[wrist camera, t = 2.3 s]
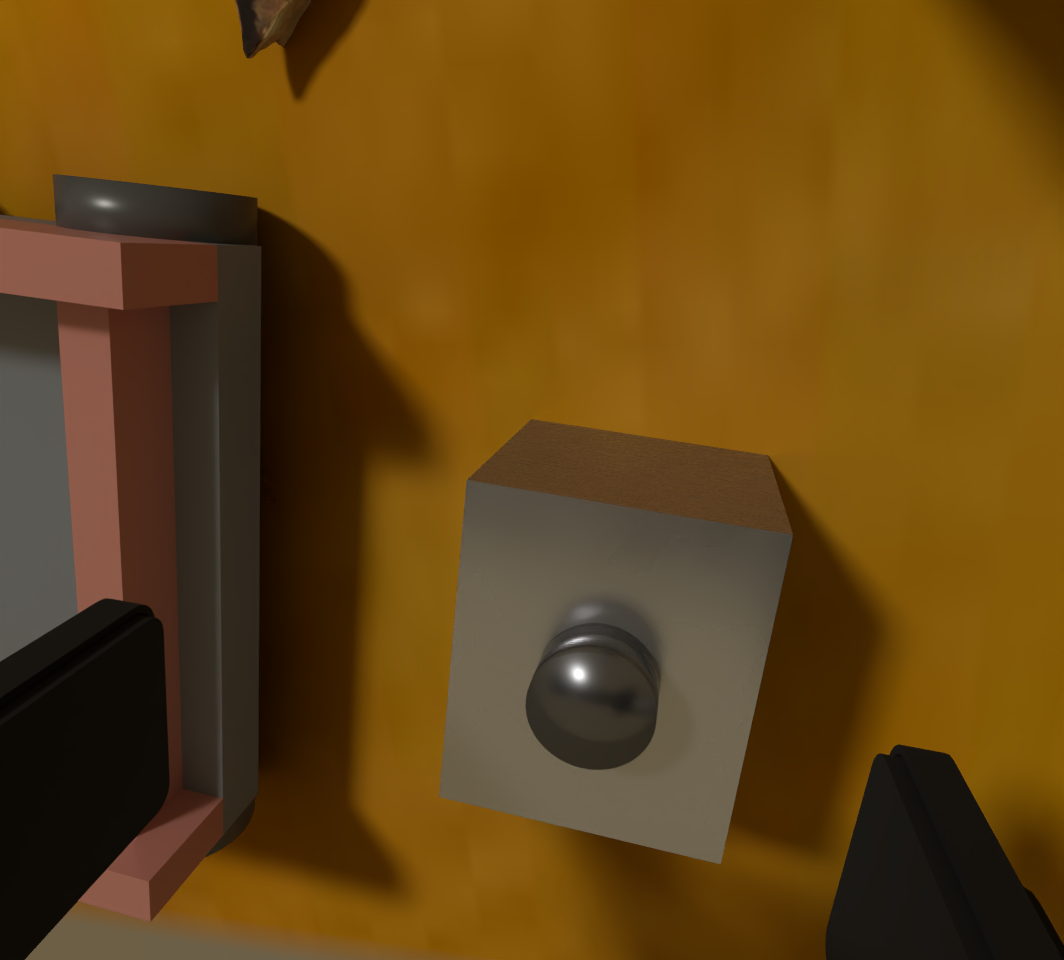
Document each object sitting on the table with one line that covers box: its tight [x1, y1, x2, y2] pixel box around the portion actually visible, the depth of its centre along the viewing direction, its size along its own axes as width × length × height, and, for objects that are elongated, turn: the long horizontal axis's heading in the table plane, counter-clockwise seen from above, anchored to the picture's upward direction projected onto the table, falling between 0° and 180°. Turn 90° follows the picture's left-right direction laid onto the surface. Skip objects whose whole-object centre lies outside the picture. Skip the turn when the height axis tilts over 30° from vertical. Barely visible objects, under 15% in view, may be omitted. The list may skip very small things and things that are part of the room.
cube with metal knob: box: [439, 419, 793, 864], centre depth 15 cm, size 5×6×6 cm
